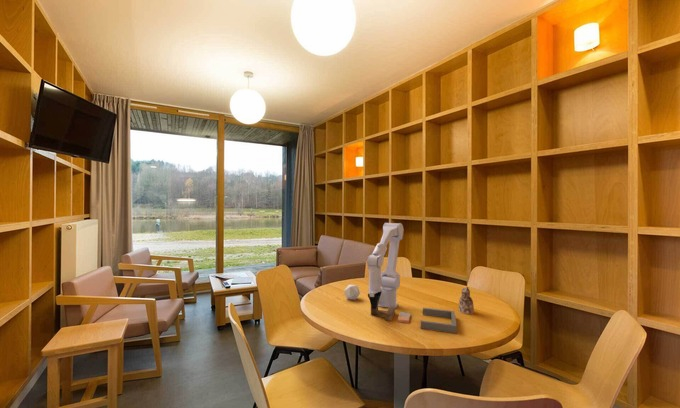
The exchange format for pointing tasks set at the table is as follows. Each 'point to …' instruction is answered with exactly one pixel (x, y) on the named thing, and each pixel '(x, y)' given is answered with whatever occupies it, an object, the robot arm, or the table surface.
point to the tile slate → (405, 314)
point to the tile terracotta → (403, 319)
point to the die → (352, 292)
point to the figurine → (466, 302)
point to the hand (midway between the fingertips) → (374, 307)
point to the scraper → (384, 313)
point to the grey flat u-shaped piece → (439, 326)
